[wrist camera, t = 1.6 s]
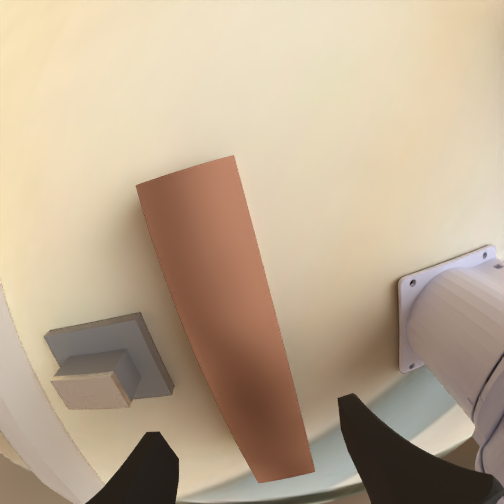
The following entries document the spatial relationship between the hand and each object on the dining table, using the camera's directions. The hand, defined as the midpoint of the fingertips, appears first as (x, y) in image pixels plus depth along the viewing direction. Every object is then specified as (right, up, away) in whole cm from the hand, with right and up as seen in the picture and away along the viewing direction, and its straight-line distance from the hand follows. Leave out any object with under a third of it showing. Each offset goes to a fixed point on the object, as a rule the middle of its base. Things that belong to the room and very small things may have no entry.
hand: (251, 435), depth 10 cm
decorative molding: (-23, -6, +10) cm, 26 cm away
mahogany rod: (0, +2, +8) cm, 9 cm away
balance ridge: (-10, 0, +8) cm, 13 cm away
